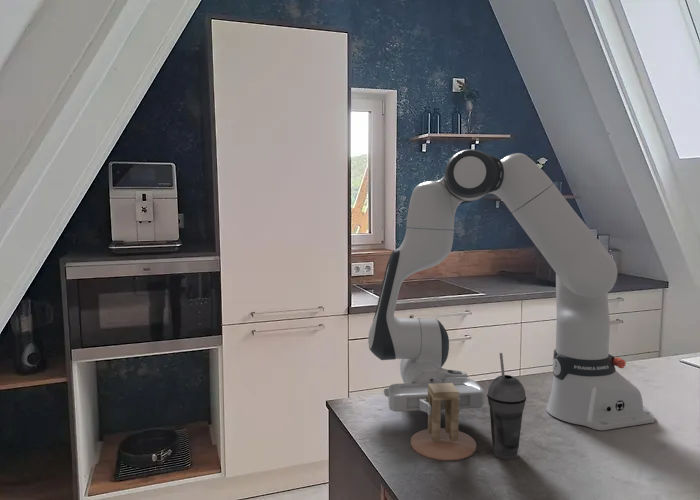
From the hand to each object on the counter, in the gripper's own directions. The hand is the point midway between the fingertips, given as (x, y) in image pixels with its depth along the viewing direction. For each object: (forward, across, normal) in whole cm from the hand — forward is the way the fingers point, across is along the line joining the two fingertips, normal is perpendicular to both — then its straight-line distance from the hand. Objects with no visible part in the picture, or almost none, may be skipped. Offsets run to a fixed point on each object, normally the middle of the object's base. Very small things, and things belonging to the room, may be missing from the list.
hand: (444, 411), depth 108 cm
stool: (-1, 0, +6) cm, 6 cm away
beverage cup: (+4, +11, +8) cm, 14 cm away
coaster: (-1, 0, +7) cm, 7 cm away
